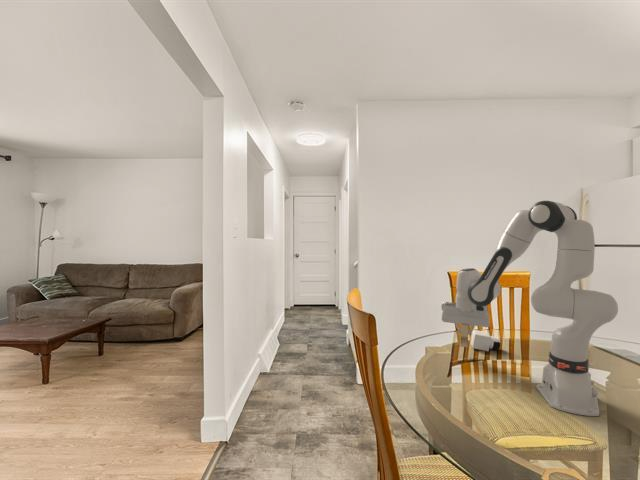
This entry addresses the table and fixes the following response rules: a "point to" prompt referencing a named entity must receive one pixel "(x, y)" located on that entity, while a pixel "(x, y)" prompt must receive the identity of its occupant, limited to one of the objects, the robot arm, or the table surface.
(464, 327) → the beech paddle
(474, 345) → the medicine bottle
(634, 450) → the table surface
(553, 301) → the robot arm
